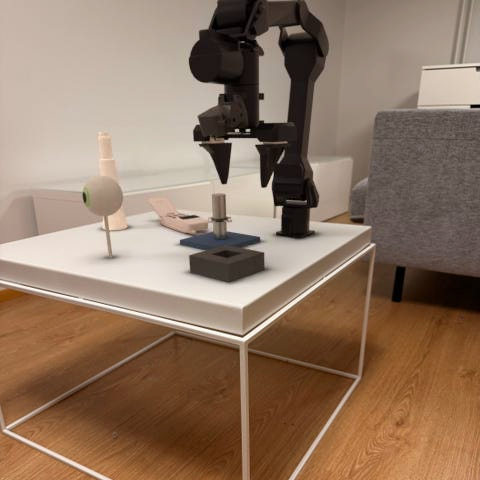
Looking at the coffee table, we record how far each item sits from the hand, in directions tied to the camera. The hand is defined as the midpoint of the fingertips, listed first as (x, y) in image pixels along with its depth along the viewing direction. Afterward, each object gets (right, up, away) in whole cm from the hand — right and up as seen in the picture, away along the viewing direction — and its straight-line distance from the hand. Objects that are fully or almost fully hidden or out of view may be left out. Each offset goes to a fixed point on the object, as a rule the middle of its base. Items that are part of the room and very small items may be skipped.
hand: (243, 185), depth 82 cm
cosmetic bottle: (-31, -1, +34) cm, 46 cm away
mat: (-5, -7, +17) cm, 19 cm away
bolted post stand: (-5, -6, +16) cm, 18 cm away
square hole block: (-3, -15, -2) cm, 16 cm away
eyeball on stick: (-25, -12, +8) cm, 29 cm away
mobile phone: (-16, -1, +33) cm, 37 cm away
